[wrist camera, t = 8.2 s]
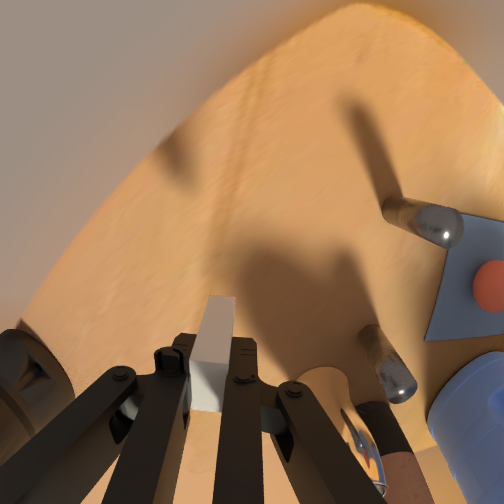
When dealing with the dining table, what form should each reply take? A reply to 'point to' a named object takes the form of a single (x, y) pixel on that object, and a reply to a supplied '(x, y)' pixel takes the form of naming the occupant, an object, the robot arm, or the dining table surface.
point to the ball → (490, 286)
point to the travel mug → (395, 456)
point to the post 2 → (425, 220)
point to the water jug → (473, 428)
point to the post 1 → (387, 365)
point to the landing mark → (467, 284)
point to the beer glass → (347, 420)
